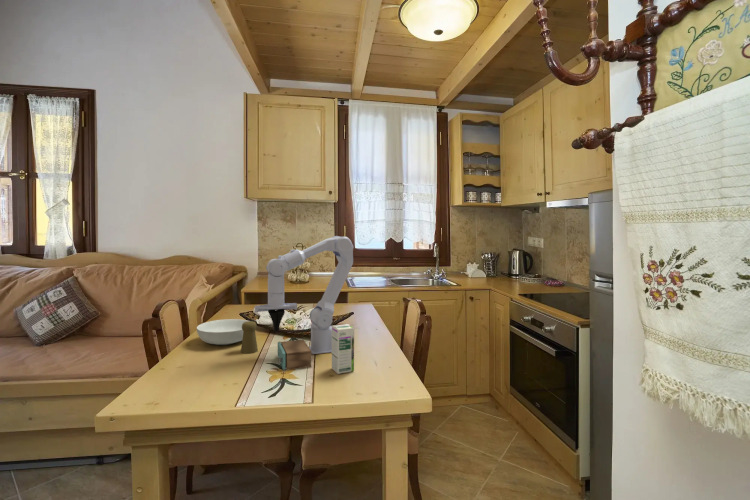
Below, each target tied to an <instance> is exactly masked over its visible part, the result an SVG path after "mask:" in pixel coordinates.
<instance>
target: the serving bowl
mask: <svg viewBox="0 0 750 500" xmlns="http://www.w3.org/2000/svg"><path fill="white" fill-rule="evenodd" d="M248 321H249V320H246V319H241V318H232V319H231V318H230V319H229V318H228V319H216V320H210V321H207V322H203V323H200V324H198V325H197V326H196V333H197V335H198V337H199V338H200V339H201V341H203V342H204V343H207V344H211V345H217V346H228V345H232V344H235V343H239V342H242V338H243V330H242V324H243V323H244V322H248Z"/></svg>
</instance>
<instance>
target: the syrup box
mask: <svg viewBox="0 0 750 500" xmlns="http://www.w3.org/2000/svg"><path fill="white" fill-rule="evenodd" d="M331 326H332V352H331V369H332V370H333V371H334V372H335V374H337V375H340V374H345V373H351V372H354V371H355V328H354V326H353V325H351V324H349V323H345V324H338V325H337V324H336V325H331Z"/></svg>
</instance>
